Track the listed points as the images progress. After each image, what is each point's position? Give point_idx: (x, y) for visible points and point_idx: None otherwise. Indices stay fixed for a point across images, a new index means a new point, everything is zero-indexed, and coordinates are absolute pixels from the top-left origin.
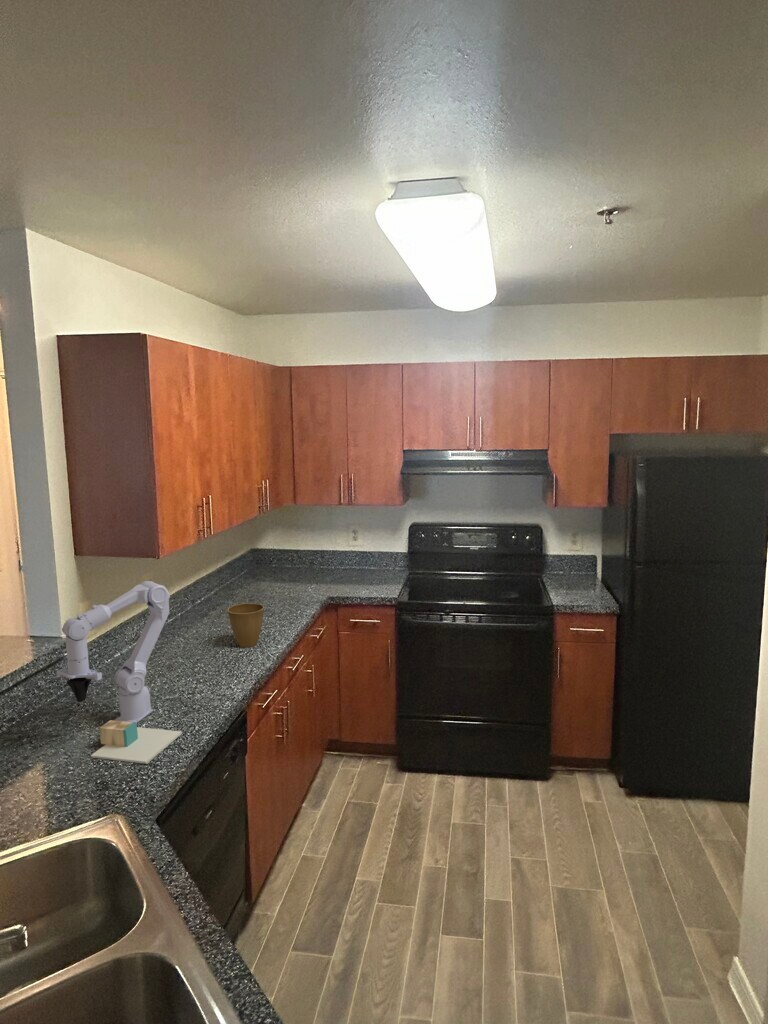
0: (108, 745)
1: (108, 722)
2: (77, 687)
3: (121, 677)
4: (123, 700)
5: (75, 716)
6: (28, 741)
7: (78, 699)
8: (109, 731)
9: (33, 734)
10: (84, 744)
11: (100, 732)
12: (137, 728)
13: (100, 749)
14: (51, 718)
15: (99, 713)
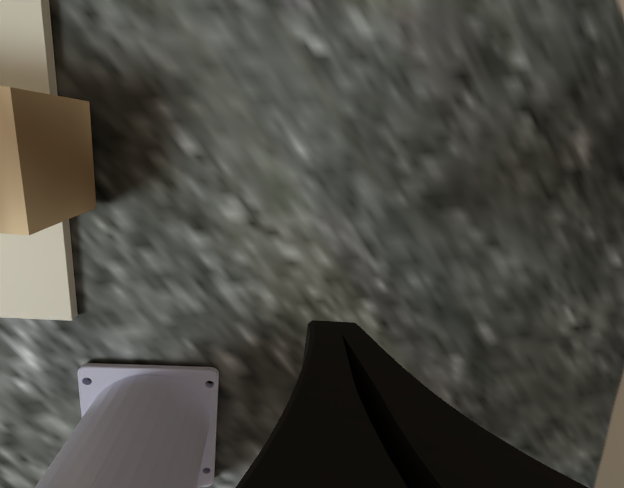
0: (18, 82)
1: (9, 194)
2: (347, 463)
3: None
4: (98, 481)
5: (447, 385)
6: (557, 127)
7: (338, 332)
8: None
9: (564, 203)
10: (216, 115)
11: (31, 92)
12: (7, 305)
13: (31, 21)
14: (549, 355)
15: None
